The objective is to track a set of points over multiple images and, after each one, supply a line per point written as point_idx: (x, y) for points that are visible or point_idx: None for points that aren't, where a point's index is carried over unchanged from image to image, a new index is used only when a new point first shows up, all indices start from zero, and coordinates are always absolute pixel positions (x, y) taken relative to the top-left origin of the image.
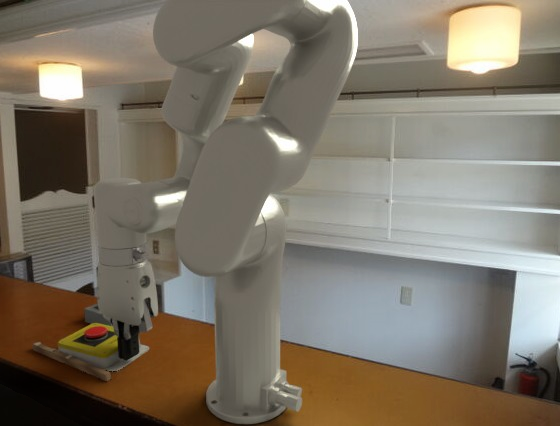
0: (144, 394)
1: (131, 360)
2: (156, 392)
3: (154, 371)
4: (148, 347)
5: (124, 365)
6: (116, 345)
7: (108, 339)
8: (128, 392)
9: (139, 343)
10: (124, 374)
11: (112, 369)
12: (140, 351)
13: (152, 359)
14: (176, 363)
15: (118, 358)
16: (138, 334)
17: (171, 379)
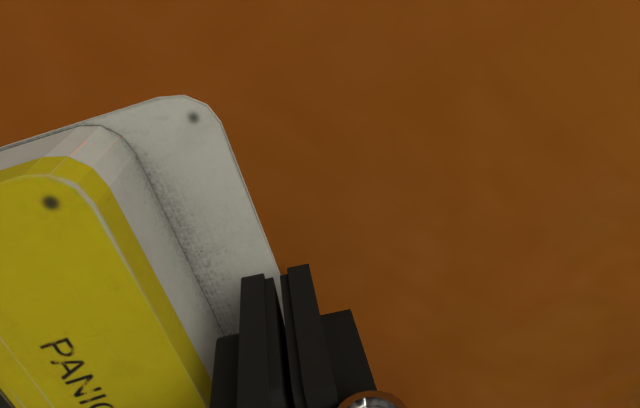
0: (584, 362)
1: (274, 276)
2: (624, 323)
3: (483, 240)
4: (193, 104)
5: None
6: (169, 391)
7: (17, 396)
8: (511, 397)
9: (115, 148)
10: (370, 354)
11: None
12: (205, 178)
13: (362, 175)
14: (537, 97)
15: (215, 336)
16: (330, 365)
17: (622, 222)
